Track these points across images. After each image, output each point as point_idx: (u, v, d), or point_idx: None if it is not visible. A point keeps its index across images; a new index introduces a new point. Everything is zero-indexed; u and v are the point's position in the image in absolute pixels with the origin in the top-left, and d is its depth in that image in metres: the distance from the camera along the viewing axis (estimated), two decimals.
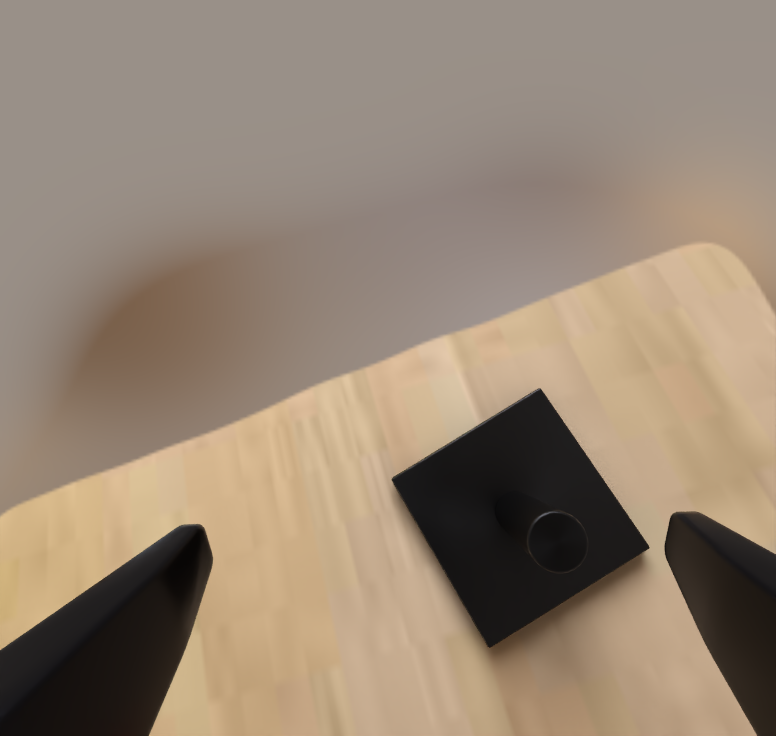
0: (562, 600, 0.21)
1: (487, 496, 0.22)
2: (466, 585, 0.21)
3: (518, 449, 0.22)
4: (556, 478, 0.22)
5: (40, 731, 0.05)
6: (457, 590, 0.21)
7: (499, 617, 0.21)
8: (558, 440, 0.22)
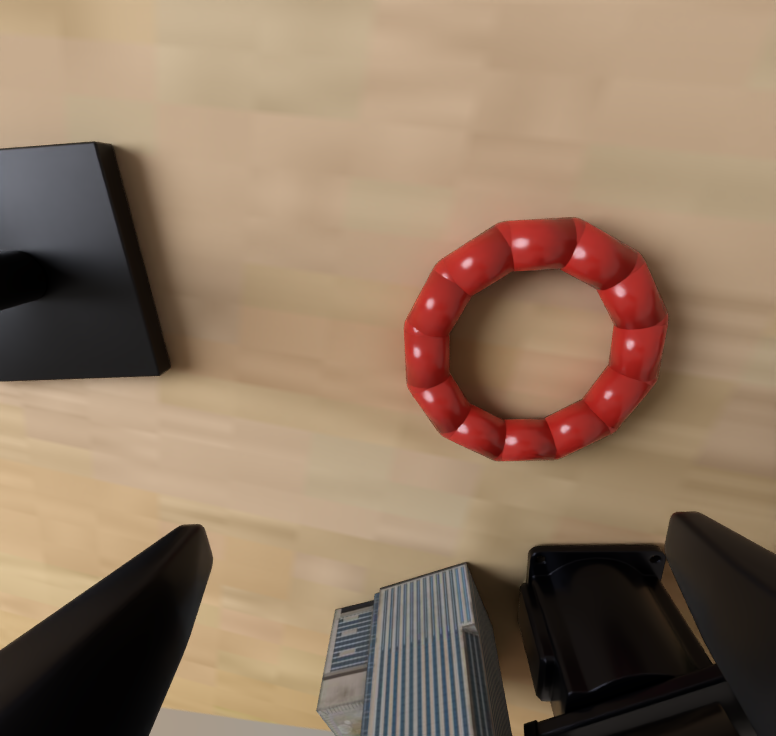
0: (130, 279, 0.17)
1: None
2: (92, 366, 0.19)
3: None
4: None
5: (40, 731, 0.05)
6: (96, 376, 0.19)
7: (132, 351, 0.18)
8: None
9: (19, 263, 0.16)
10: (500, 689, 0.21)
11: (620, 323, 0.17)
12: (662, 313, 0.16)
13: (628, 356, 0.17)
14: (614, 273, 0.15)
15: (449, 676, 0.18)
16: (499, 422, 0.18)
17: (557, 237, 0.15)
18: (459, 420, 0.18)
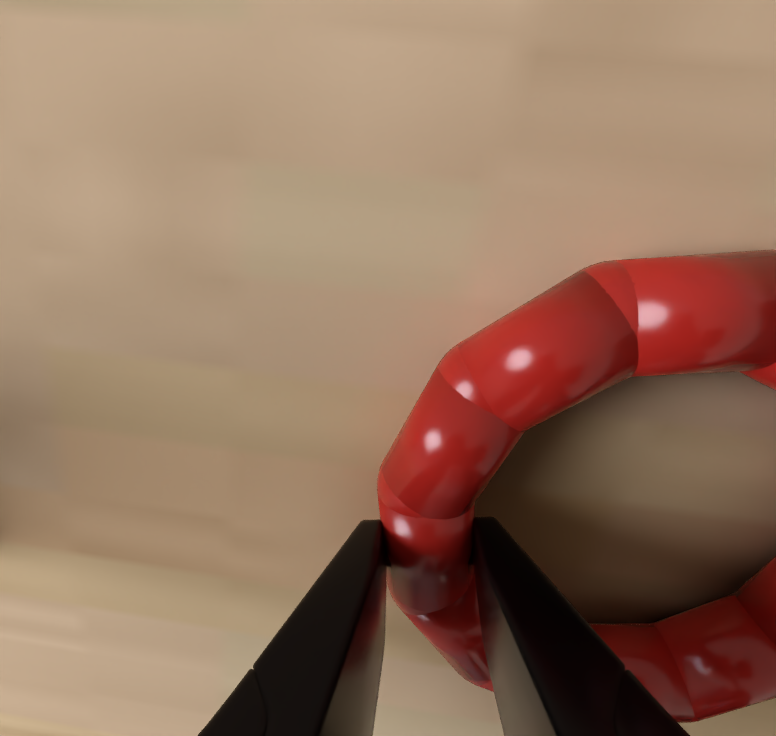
0: None
1: None
2: None
3: None
4: None
5: (335, 735, 0.05)
6: None
7: None
8: None
9: None
10: None
11: None
12: None
13: None
14: None
15: None
16: None
17: (758, 306, 0.06)
18: None
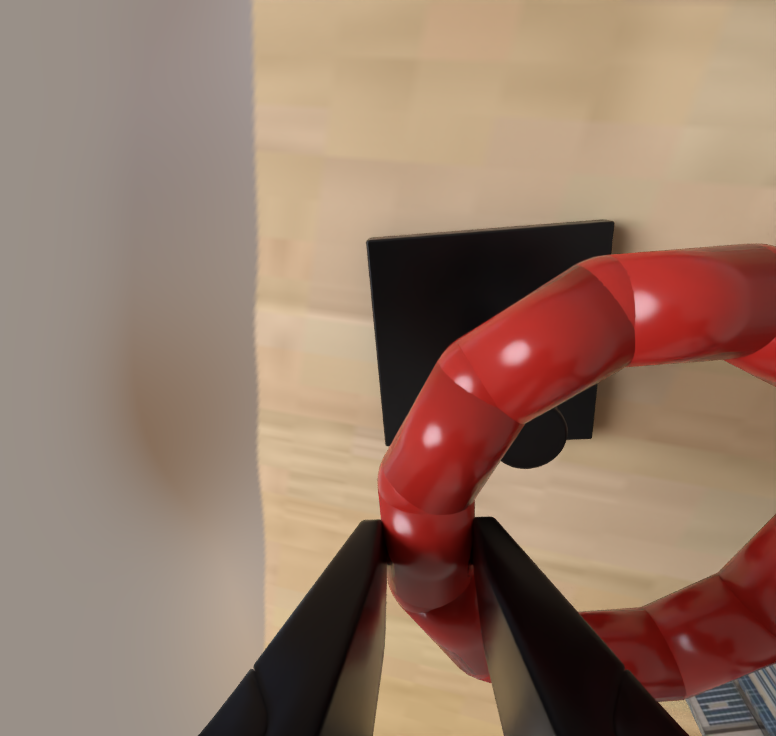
0: None
1: None
2: None
3: (424, 307, 0.17)
4: (478, 283, 0.17)
5: (336, 735, 0.05)
6: None
7: (572, 416, 0.19)
8: (438, 255, 0.16)
9: None
10: None
11: None
12: None
13: None
14: None
15: None
16: None
17: (745, 296, 0.06)
18: None
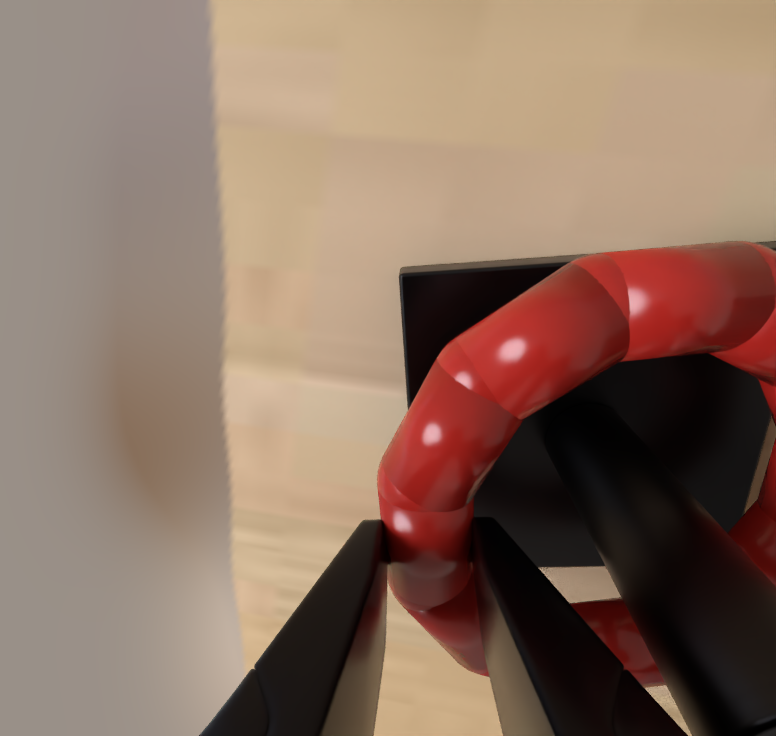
0: (761, 442, 0.11)
1: (530, 464, 0.12)
2: None
3: None
4: None
5: (337, 735, 0.05)
6: None
7: None
8: None
9: (634, 432, 0.10)
10: None
11: None
12: None
13: None
14: None
15: None
16: None
17: (731, 291, 0.06)
18: None
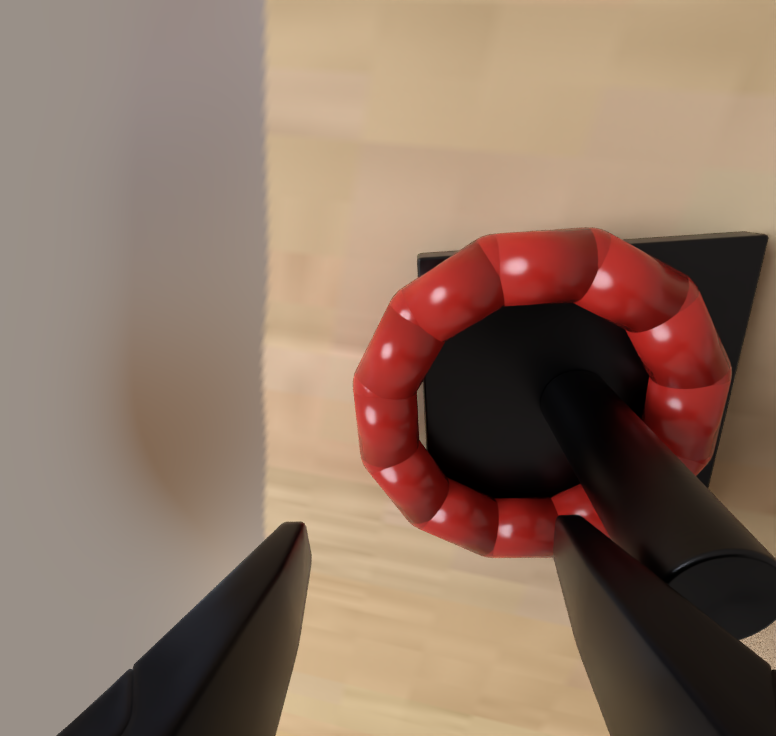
0: (725, 405, 0.13)
1: (527, 424, 0.14)
2: None
3: (491, 348, 0.13)
4: (568, 317, 0.12)
5: (206, 733, 0.05)
6: None
7: None
8: None
9: (615, 393, 0.12)
10: None
11: (659, 377, 0.12)
12: (724, 366, 0.11)
13: (672, 425, 0.12)
14: (653, 310, 0.10)
15: None
16: (489, 507, 0.13)
17: (568, 258, 0.10)
18: (433, 508, 0.13)
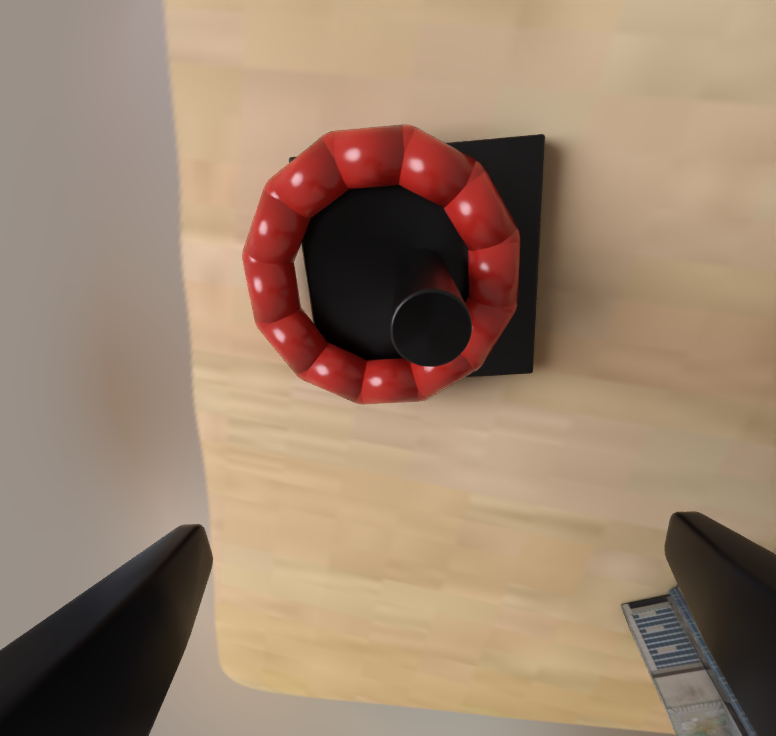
0: (535, 276, 0.17)
1: (388, 297, 0.17)
2: None
3: (353, 232, 0.16)
4: (407, 204, 0.16)
5: (40, 731, 0.05)
6: None
7: (512, 349, 0.18)
8: None
9: (443, 262, 0.16)
10: None
11: (470, 244, 0.15)
12: (508, 229, 0.15)
13: (480, 280, 0.15)
14: (449, 184, 0.14)
15: None
16: (358, 361, 0.17)
17: (383, 144, 0.14)
18: (311, 358, 0.17)
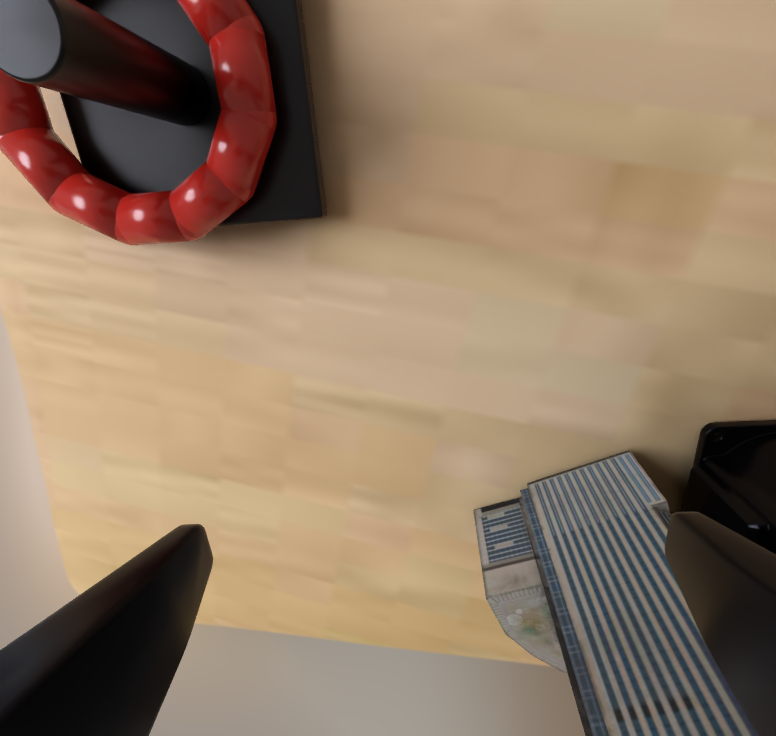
0: (304, 93, 0.15)
1: (151, 122, 0.16)
2: (247, 207, 0.17)
3: None
4: (151, 5, 0.15)
5: (40, 731, 0.05)
6: (250, 220, 0.17)
7: (294, 186, 0.17)
8: None
9: (189, 66, 0.15)
10: None
11: (207, 39, 0.14)
12: (235, 11, 0.13)
13: (218, 79, 0.14)
14: None
15: (655, 550, 0.16)
16: (117, 191, 0.16)
17: None
18: (55, 180, 0.15)
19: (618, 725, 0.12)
